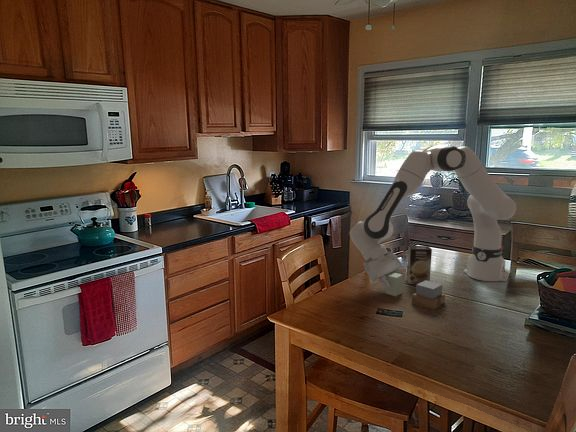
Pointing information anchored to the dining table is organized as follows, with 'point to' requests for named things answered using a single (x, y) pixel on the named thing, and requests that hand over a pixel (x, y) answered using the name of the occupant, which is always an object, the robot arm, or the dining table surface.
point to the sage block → (394, 284)
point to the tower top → (429, 289)
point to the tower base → (428, 301)
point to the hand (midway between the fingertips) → (395, 283)
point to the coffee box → (418, 264)
